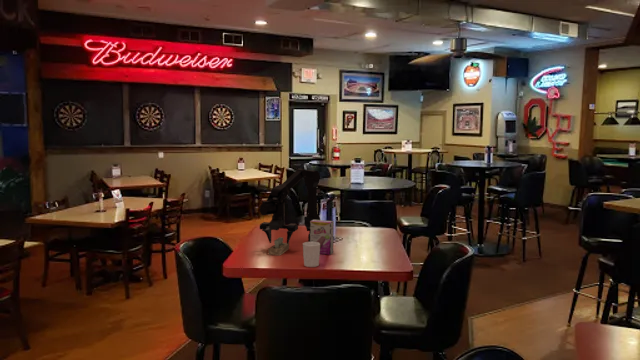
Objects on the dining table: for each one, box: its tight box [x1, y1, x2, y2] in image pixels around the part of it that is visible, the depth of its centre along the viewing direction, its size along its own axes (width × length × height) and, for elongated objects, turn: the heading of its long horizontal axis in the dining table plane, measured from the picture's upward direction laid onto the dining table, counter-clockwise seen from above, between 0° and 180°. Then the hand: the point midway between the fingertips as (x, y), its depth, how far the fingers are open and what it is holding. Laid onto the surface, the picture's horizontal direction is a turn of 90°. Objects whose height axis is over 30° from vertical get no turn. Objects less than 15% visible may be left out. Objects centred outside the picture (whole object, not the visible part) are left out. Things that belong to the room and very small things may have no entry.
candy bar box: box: [309, 219, 335, 256], centre depth 241 cm, size 11×5×16 cm, turn 71°
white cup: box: [302, 241, 321, 268], centre depth 220 cm, size 8×8×10 cm
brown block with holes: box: [267, 242, 290, 256], centre depth 244 cm, size 6×14×3 cm, turn 165°
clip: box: [274, 236, 284, 248], centre depth 244 cm, size 2×8×6 cm, turn 165°
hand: (278, 243), depth 244 cm, fingers open, 9 cm apart
